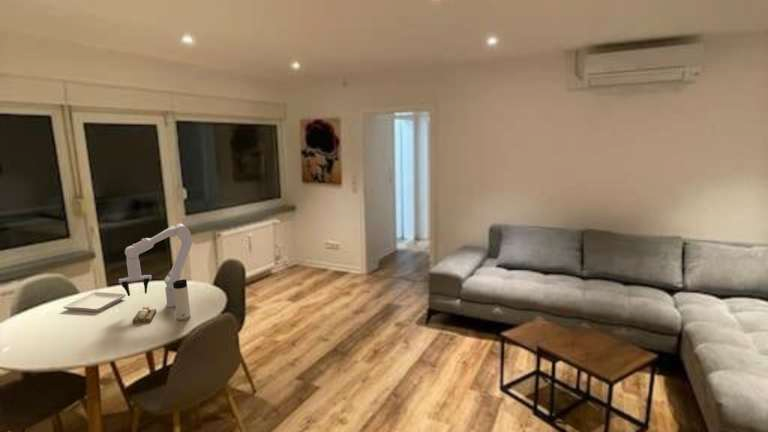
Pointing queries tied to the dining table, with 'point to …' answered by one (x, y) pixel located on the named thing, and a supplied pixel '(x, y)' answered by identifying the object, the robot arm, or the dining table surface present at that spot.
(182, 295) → the travel mug
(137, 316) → the panel
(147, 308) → the button
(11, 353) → the dining table surface
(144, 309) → the button mid
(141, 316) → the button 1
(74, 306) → the salad plate
